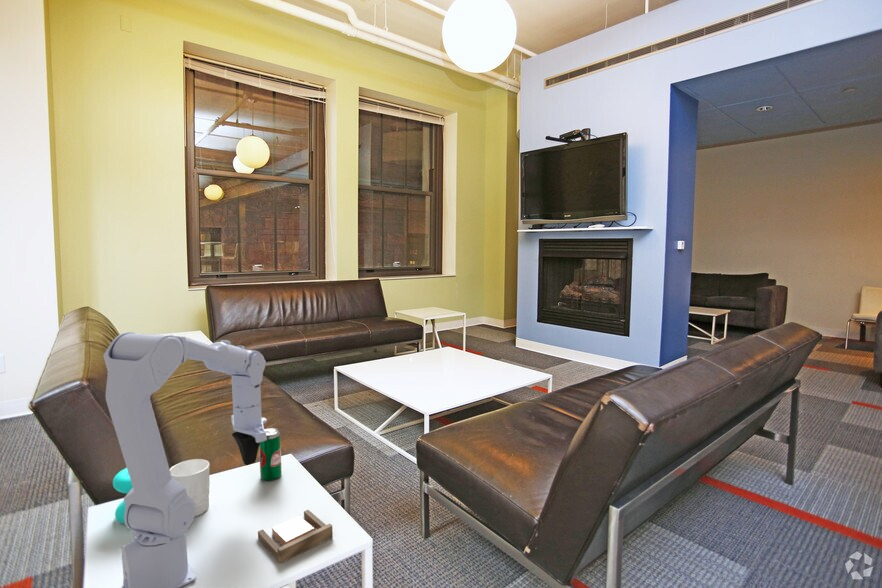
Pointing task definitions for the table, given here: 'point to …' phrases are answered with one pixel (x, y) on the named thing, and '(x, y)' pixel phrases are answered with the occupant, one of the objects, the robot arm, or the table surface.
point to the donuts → (124, 486)
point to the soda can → (270, 455)
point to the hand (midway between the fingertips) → (249, 462)
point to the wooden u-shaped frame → (301, 543)
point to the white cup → (194, 481)
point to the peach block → (291, 530)
